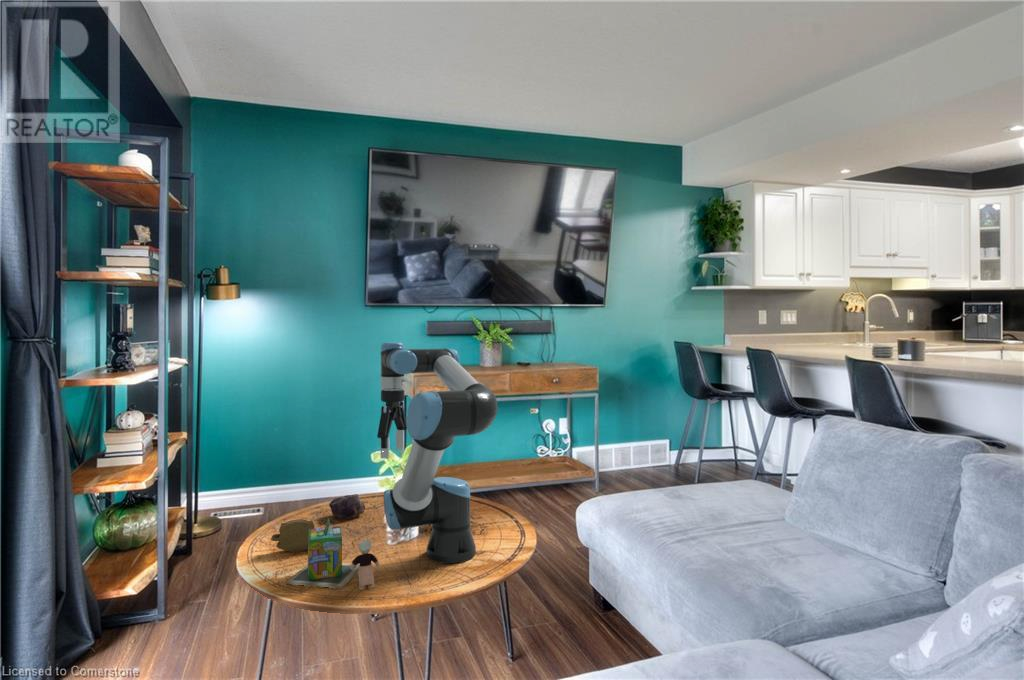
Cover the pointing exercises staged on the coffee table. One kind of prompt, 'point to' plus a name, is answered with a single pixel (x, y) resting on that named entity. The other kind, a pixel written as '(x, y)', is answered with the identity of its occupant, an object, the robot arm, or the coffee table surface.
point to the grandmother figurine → (365, 565)
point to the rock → (347, 506)
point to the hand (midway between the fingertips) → (392, 453)
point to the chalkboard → (333, 582)
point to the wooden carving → (293, 535)
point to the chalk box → (324, 552)
